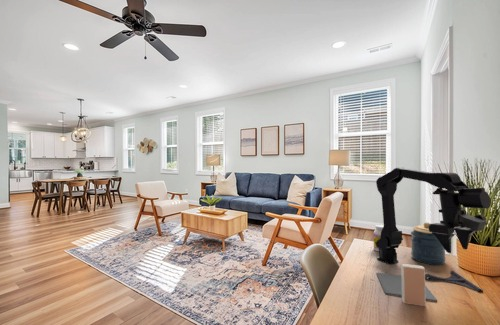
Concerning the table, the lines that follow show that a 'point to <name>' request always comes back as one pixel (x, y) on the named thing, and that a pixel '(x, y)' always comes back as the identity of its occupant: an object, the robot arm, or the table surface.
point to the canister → (426, 246)
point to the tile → (413, 284)
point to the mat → (398, 286)
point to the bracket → (454, 280)
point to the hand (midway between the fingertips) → (457, 251)
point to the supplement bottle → (377, 235)
